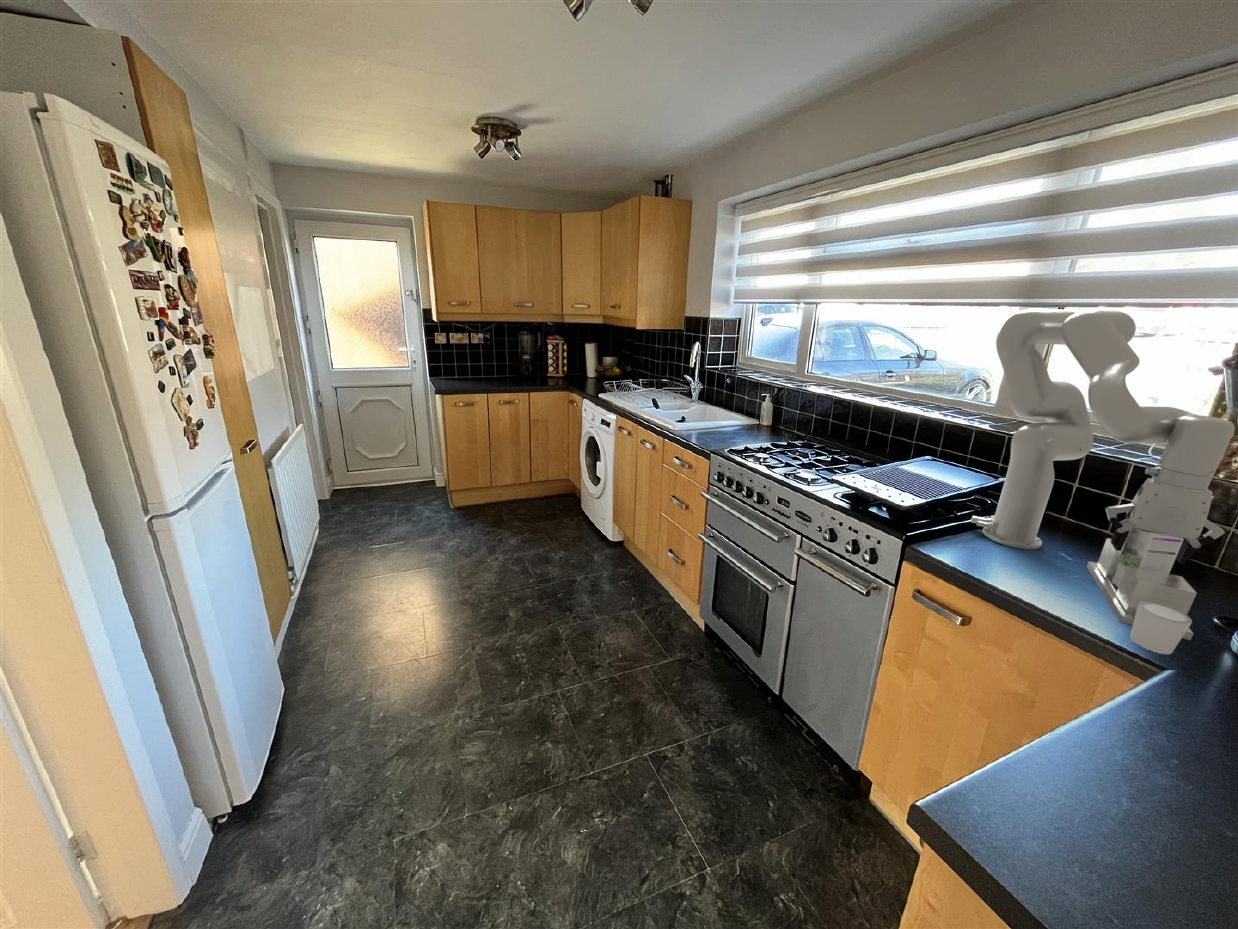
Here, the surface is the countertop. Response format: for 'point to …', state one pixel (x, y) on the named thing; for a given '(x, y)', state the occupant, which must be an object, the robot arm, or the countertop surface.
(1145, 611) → the grey mug
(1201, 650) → the countertop surface
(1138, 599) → the board
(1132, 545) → the syrup box
